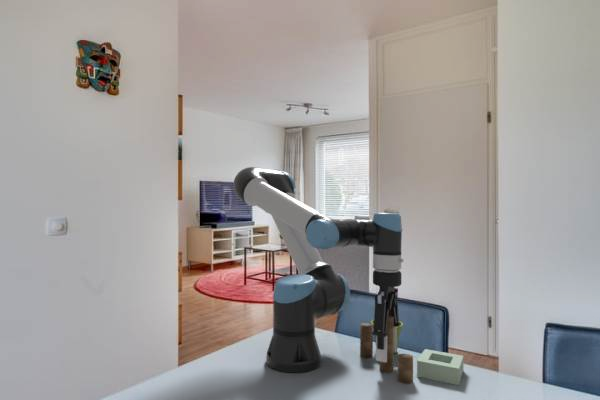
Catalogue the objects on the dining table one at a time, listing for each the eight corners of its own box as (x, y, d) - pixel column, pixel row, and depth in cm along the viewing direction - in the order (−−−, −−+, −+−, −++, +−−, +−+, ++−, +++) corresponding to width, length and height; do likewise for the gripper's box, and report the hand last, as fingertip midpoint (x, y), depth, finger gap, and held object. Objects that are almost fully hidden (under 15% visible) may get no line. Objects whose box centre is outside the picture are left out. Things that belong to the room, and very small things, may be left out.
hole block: (417, 376, 99) (417, 360, 99) (424, 363, 108) (424, 349, 108) (458, 385, 94) (458, 368, 94) (463, 370, 103) (463, 355, 103)
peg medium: (358, 356, 112) (358, 325, 113) (362, 353, 115) (362, 322, 116) (370, 359, 111) (370, 327, 111) (374, 355, 114) (374, 324, 114)
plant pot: (403, 358, 112) (403, 328, 112) (370, 355, 114) (370, 325, 114) (401, 347, 121) (401, 319, 121) (371, 344, 123) (371, 317, 123)
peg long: (377, 370, 102) (378, 317, 103) (381, 366, 105) (382, 314, 106) (391, 373, 101) (391, 319, 101) (394, 369, 104) (395, 316, 104)
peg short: (396, 381, 96) (396, 357, 96) (400, 376, 99) (400, 352, 99) (411, 384, 94) (411, 360, 94) (414, 379, 97) (414, 355, 98)
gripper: (390, 276, 93) (389, 372, 92) (410, 266, 111) (409, 346, 111) (360, 274, 97) (359, 366, 96) (384, 264, 115) (384, 341, 114)
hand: (386, 355), depth 103 cm, fingers open, 8 cm apart
